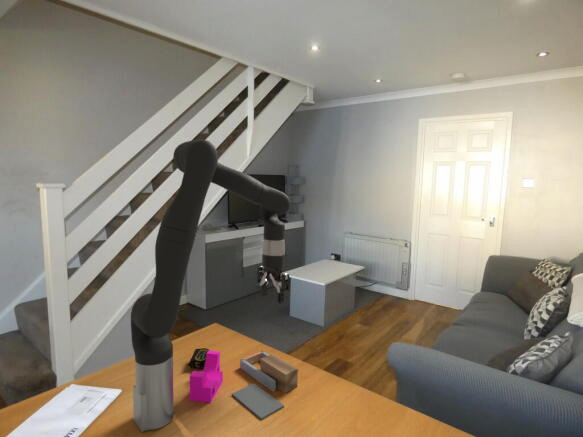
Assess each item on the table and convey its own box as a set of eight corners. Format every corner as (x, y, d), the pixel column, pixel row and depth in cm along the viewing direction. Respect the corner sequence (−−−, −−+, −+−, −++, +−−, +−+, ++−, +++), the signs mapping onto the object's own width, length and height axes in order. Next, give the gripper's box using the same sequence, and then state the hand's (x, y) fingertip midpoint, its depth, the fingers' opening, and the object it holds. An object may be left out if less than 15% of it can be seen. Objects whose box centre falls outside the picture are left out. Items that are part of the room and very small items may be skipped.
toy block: (210, 403, 97) (210, 378, 96) (189, 400, 98) (189, 376, 97) (227, 374, 112) (227, 352, 111) (208, 372, 112) (208, 350, 112)
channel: (272, 391, 103) (273, 382, 102) (240, 368, 115) (240, 359, 115) (295, 379, 109) (296, 370, 109) (262, 358, 121) (262, 350, 121)
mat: (261, 420, 90) (261, 418, 90) (231, 395, 100) (231, 393, 100) (284, 406, 96) (284, 405, 96) (253, 384, 106) (253, 383, 106)
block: (285, 393, 102) (285, 374, 101) (260, 376, 111) (260, 358, 110) (297, 387, 106) (297, 368, 105) (272, 371, 114) (272, 353, 114)
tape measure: (195, 354, 120) (195, 346, 119) (214, 356, 120) (214, 348, 118) (188, 369, 114) (187, 360, 113) (208, 371, 114) (207, 362, 112)
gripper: (251, 250, 117) (250, 296, 119) (279, 257, 107) (277, 308, 108) (268, 248, 122) (267, 292, 124) (296, 254, 112) (294, 303, 114)
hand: (271, 299), depth 116 cm, fingers open, 8 cm apart
